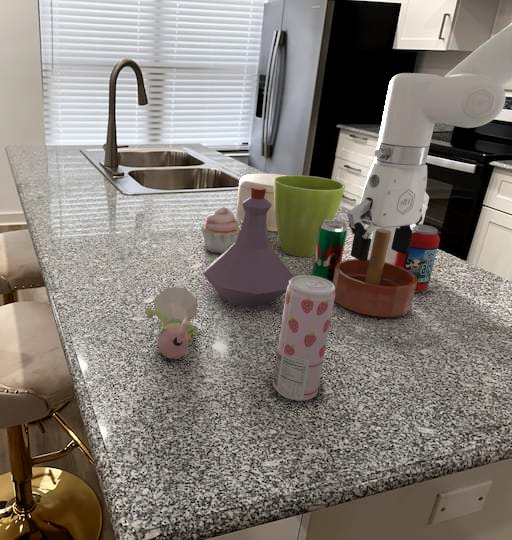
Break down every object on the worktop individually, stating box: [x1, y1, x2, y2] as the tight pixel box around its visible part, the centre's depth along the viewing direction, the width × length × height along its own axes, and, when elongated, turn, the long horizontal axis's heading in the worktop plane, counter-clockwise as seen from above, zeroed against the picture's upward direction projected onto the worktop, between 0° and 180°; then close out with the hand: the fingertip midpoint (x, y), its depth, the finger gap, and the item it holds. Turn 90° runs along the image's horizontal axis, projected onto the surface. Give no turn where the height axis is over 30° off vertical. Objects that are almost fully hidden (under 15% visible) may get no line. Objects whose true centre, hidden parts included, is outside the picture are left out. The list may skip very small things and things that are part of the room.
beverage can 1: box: [272, 274, 335, 402], centre depth 64 cm, size 6×6×15 cm
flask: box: [202, 186, 296, 309], centre depth 89 cm, size 16×16×20 cm
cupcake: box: [200, 206, 241, 254], centre depth 114 cm, size 9×9×10 cm
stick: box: [365, 229, 391, 285], centre depth 90 cm, size 2×2×13 cm
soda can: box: [311, 219, 348, 283], centre depth 99 cm, size 5×5×12 cm
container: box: [235, 173, 288, 232], centre depth 135 cm, size 18×18×12 cm
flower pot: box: [274, 174, 346, 258], centre depth 114 cm, size 15×15×16 cm
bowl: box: [333, 258, 417, 318], centre depth 91 cm, size 13×13×6 cm
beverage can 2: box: [393, 223, 441, 293], centre depth 98 cm, size 7×7×12 cm
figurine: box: [144, 287, 199, 360], centre depth 76 cm, size 9×7×15 cm
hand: (379, 255), depth 89 cm, fingers open, 9 cm apart
